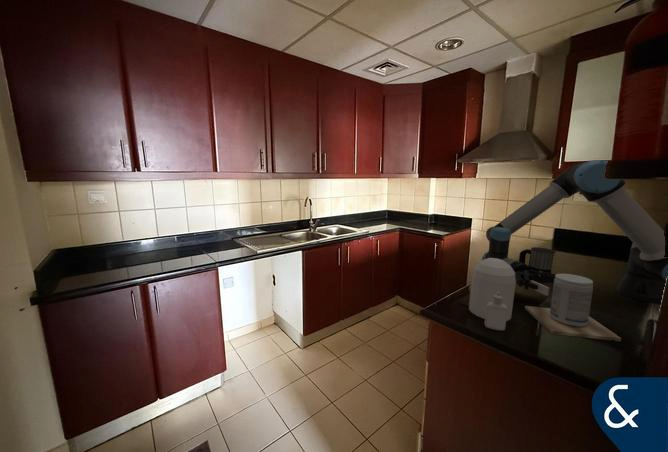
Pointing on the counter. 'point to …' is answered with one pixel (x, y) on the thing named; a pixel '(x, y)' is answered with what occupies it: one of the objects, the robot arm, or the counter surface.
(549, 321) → the board
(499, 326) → the eye dropper bottle
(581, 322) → the supplement tub
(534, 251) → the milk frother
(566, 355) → the counter surface
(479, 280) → the container
